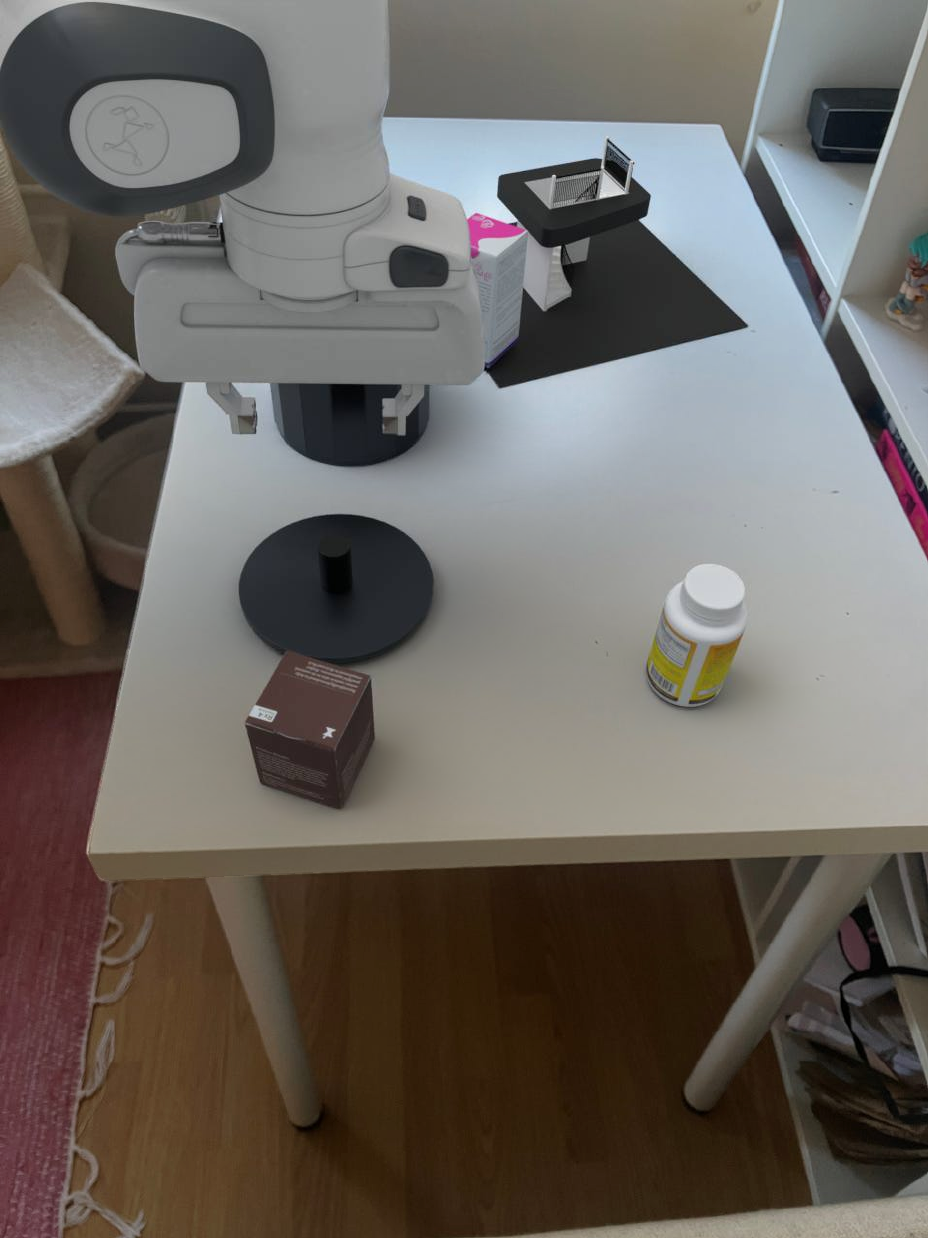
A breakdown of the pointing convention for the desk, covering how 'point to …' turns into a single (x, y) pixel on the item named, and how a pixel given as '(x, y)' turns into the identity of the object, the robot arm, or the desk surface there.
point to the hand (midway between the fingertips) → (320, 428)
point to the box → (312, 728)
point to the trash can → (343, 421)
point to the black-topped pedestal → (597, 272)
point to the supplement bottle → (697, 636)
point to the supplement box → (498, 280)
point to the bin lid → (336, 588)
